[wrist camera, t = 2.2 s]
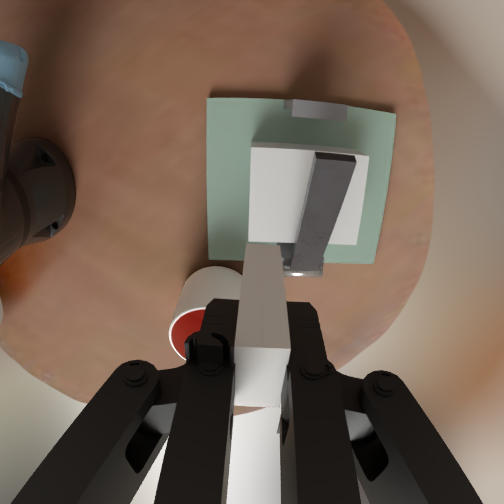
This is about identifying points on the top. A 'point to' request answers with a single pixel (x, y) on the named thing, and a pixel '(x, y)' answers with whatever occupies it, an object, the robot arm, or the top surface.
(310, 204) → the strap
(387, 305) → the top surface
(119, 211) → the top surface
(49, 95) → the top surface
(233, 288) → the cup
